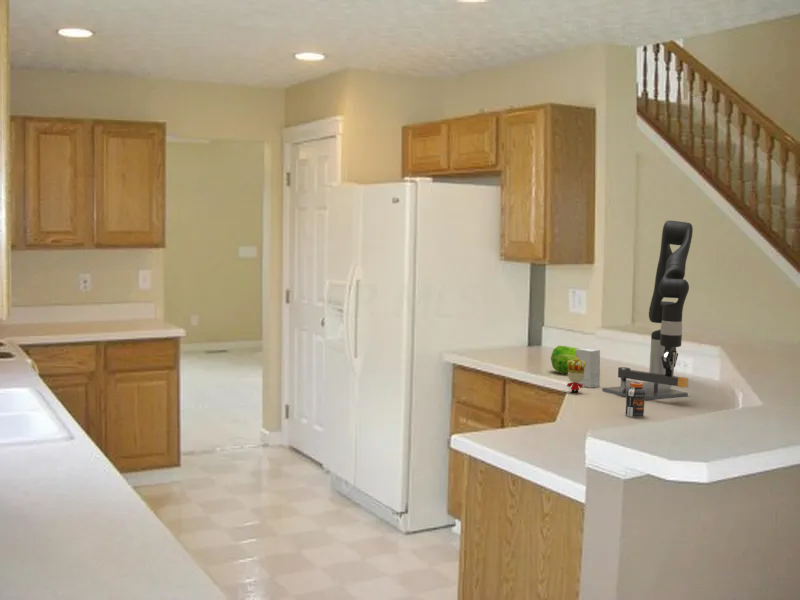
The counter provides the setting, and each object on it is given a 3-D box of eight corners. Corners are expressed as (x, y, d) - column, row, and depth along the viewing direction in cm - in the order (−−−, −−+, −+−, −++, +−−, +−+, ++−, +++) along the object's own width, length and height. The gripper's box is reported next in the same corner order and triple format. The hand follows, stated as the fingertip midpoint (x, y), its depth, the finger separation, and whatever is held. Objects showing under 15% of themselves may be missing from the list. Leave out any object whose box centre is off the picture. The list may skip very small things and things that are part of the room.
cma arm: (688, 386, 320) (689, 376, 319) (683, 387, 317) (683, 377, 316) (621, 376, 338) (621, 366, 338) (615, 377, 335) (616, 367, 334)
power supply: (636, 388, 345) (637, 377, 345) (653, 392, 337) (654, 381, 337) (623, 389, 341) (623, 379, 341) (640, 393, 334) (641, 383, 333)
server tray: (648, 386, 356) (649, 370, 356) (687, 396, 339) (688, 378, 338) (602, 391, 344) (603, 374, 343) (640, 400, 326) (641, 382, 326)
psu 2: (653, 386, 350) (653, 376, 349) (670, 390, 342) (671, 380, 341) (640, 388, 346) (640, 377, 346) (657, 392, 338) (658, 381, 338)
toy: (585, 392, 340) (587, 353, 339) (583, 395, 333) (585, 355, 332) (567, 390, 342) (568, 352, 341) (564, 393, 336) (566, 354, 334)
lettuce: (598, 377, 375) (599, 349, 374) (550, 375, 378) (551, 347, 377) (596, 372, 388) (597, 345, 387) (549, 370, 391) (550, 343, 390)
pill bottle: (632, 418, 295) (634, 384, 294) (621, 414, 300) (623, 381, 299) (647, 417, 297) (649, 383, 296) (636, 413, 303) (637, 380, 302)
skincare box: (599, 387, 352) (601, 350, 351) (589, 388, 349) (590, 350, 348) (584, 383, 359) (586, 347, 358) (573, 384, 356) (575, 348, 355)
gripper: (676, 335, 317) (673, 383, 319) (686, 332, 328) (684, 378, 330) (655, 333, 321) (652, 381, 323) (666, 330, 332) (664, 375, 334)
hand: (668, 379), depth 326 cm, fingers closed
